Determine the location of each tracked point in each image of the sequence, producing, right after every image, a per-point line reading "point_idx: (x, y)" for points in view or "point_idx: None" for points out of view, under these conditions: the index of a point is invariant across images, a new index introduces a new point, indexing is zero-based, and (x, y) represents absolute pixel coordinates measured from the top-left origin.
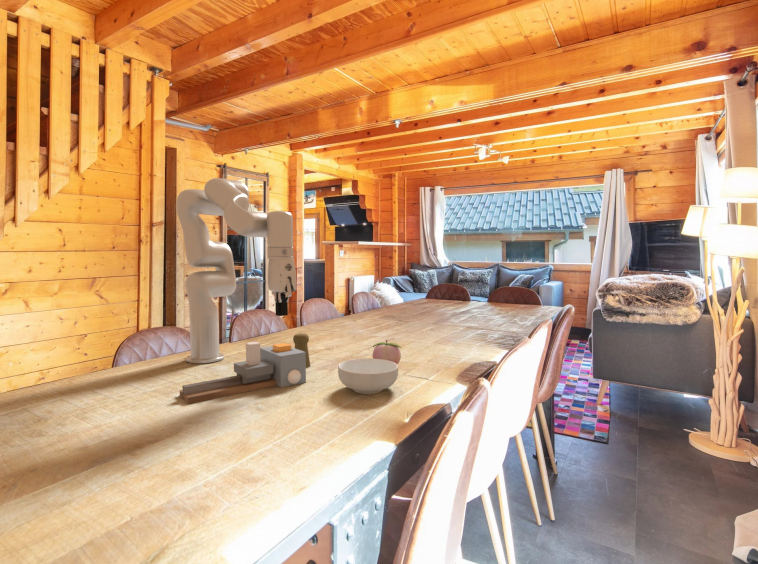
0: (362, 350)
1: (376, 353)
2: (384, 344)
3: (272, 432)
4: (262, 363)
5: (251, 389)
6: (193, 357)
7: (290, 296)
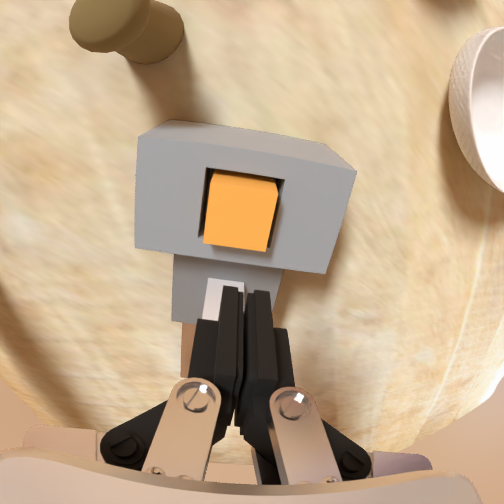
0: None
1: None
2: None
3: (440, 342)
4: (243, 275)
5: None
6: None
7: (409, 455)
